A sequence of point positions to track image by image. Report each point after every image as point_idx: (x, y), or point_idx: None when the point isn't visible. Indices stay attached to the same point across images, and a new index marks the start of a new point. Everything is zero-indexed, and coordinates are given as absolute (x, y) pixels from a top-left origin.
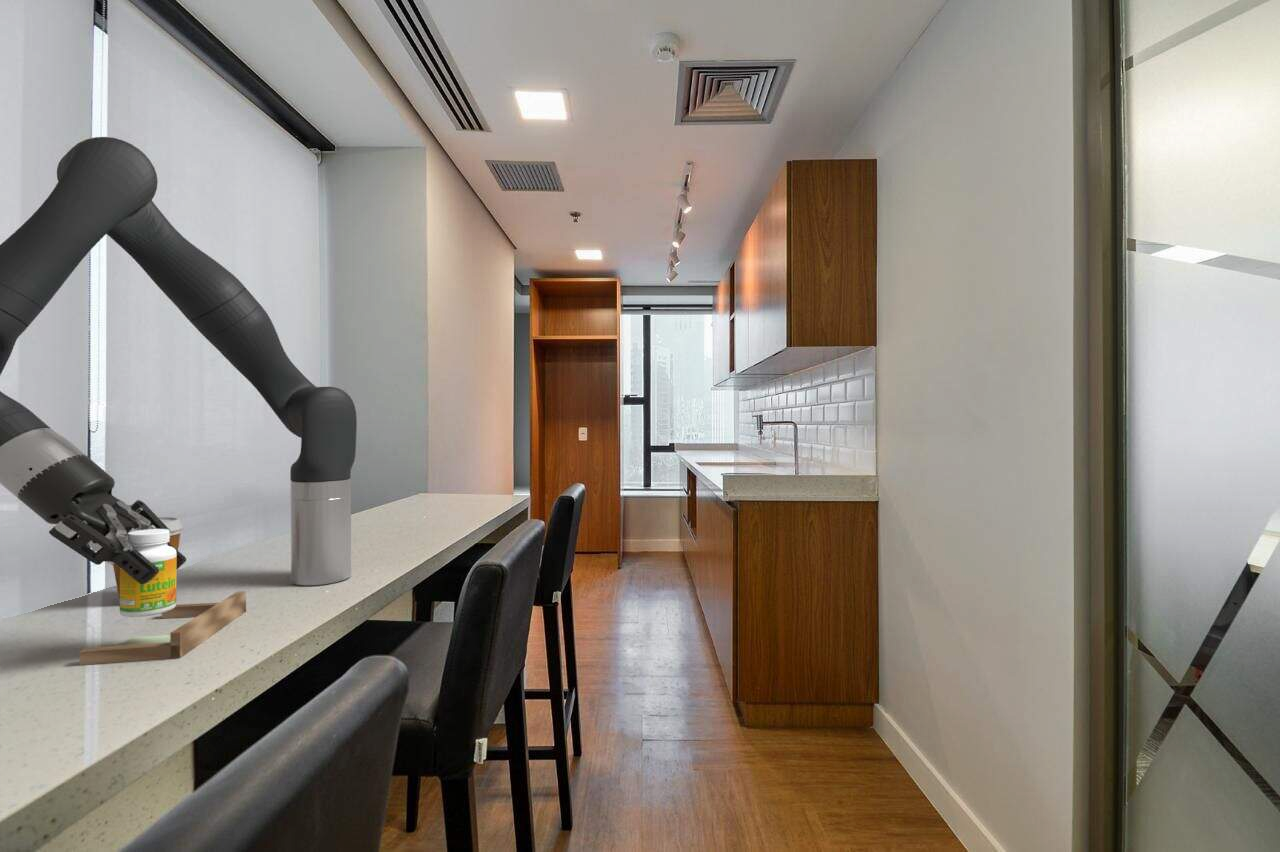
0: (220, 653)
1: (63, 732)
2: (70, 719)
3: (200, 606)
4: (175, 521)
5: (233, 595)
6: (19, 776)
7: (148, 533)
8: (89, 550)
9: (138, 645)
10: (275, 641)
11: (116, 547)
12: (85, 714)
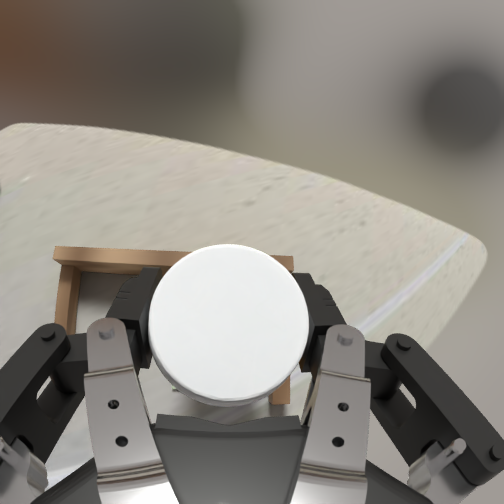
0: (273, 222)
1: (443, 282)
2: (427, 293)
3: (67, 322)
4: None
5: (78, 255)
6: (479, 268)
7: (282, 296)
8: (394, 413)
9: None
10: (238, 170)
11: (393, 339)
12: (420, 286)
